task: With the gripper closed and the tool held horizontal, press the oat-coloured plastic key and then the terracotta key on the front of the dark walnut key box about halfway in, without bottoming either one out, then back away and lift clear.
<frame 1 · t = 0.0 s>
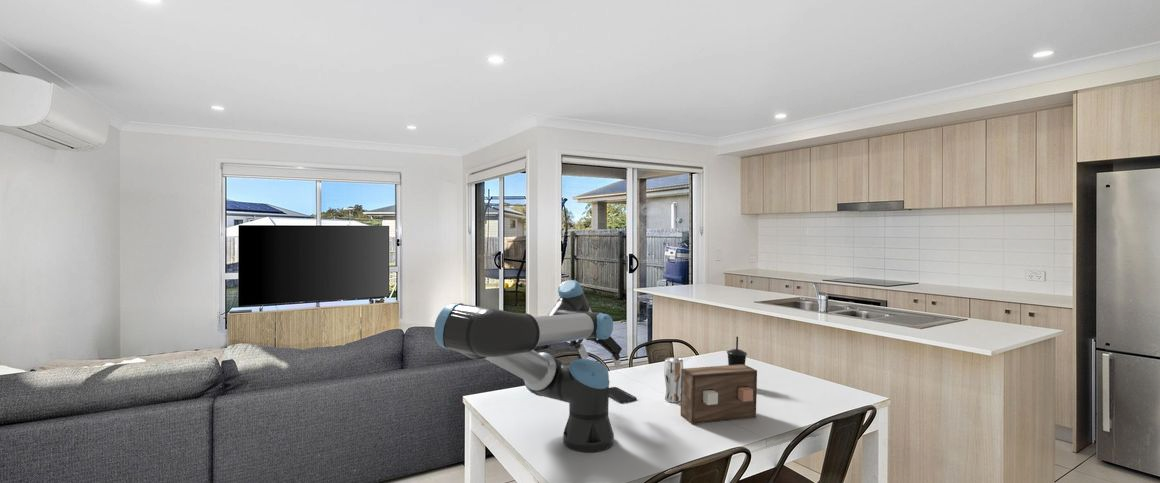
hand: (601, 361, 183), 15 cm above the table, tool tilted 35°, fingers open, 13 cm apart
key box: (718, 416, 173), on the table
phone: (617, 397, 193), on the table
terracotta key: (743, 392, 170), point 9 cm above the table, slide at 0.0 cm
oat key: (708, 396, 167), point 9 cm above the table, slide at 0.0 cm
beer glass: (673, 400, 189), on the table
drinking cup: (736, 386, 206), on the table
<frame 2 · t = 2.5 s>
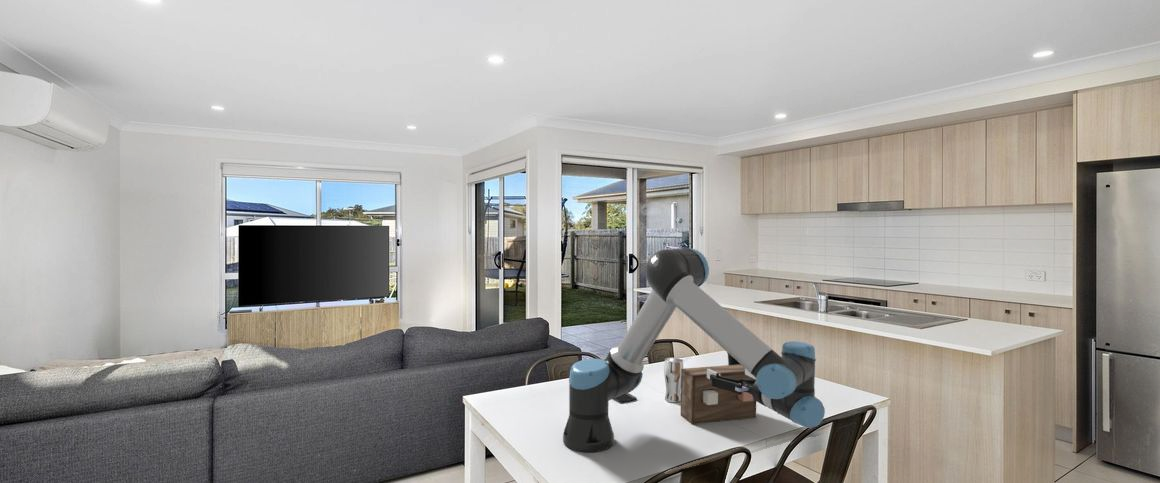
hand: (727, 371, 156), 20 cm above the table, tool horizontal, fingers open, 12 cm apart
nothing on the table moved.
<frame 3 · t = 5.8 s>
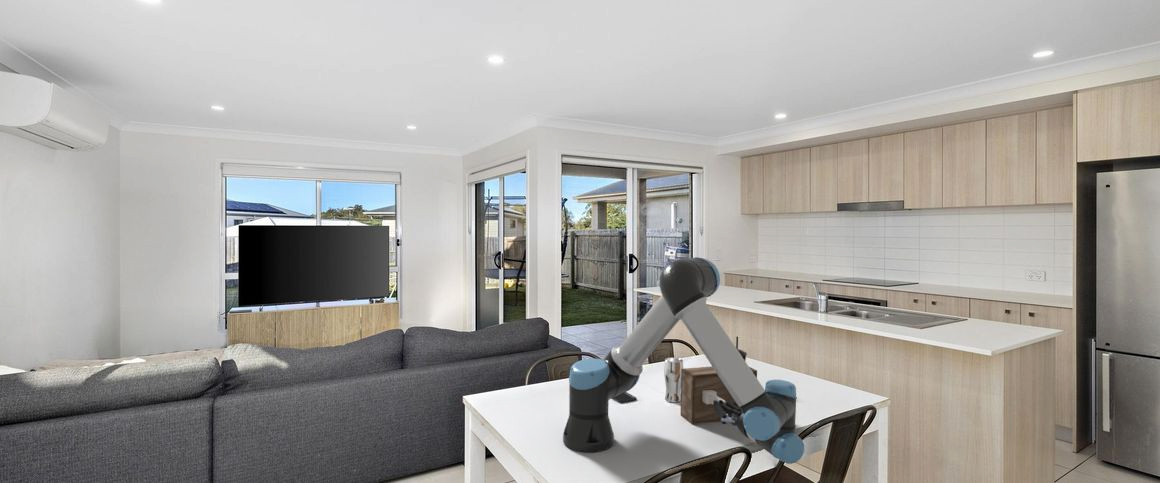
hand: (712, 398, 164), 9 cm above the table, tool horizontal, fingers closed
oat key: (707, 395, 167), point 9 cm above the table, slide at 0.8 cm, touching gripper
everything else where it was.
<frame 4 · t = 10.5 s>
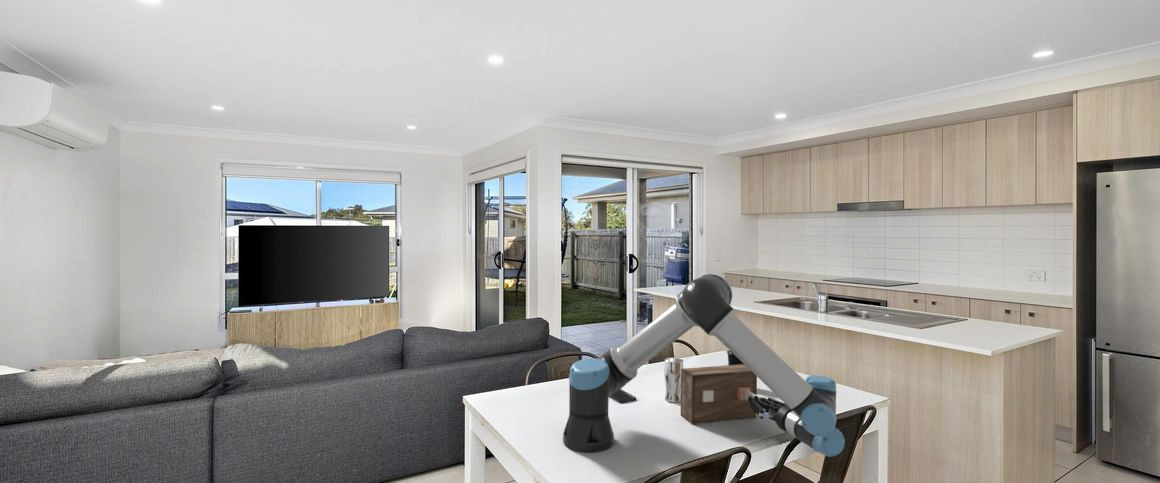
hand: (746, 394, 168), 9 cm above the table, tool horizontal, fingers closed
terracotta key: (740, 391, 171), point 9 cm above the table, slide at 1.4 cm, touching gripper
oat key: (704, 393, 169), point 9 cm above the table, slide at 2.6 cm
everything else where it was.
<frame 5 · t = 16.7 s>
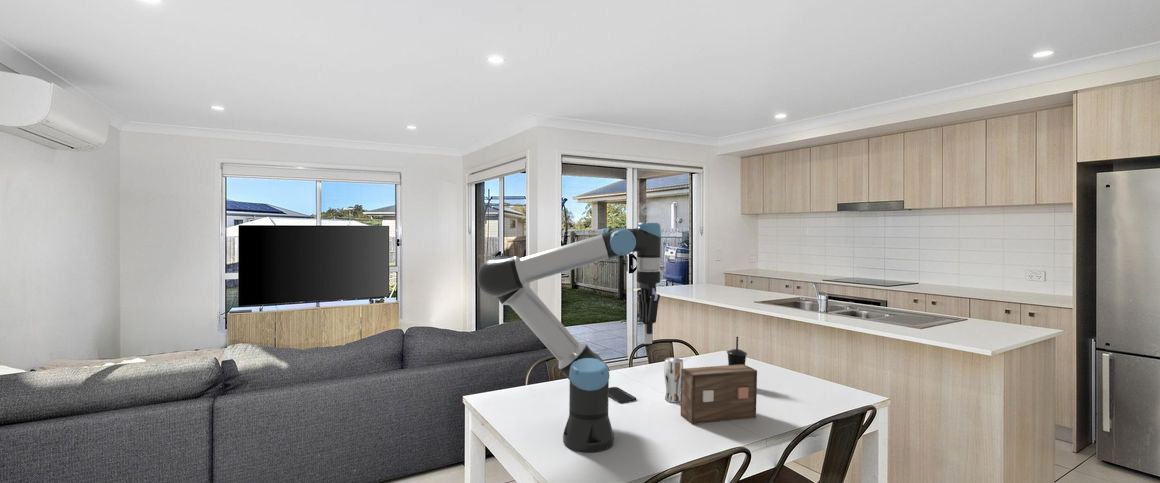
hand: (647, 343, 165), 26 cm above the table, tool pointing down, fingers closed
terracotta key: (738, 390, 173), point 9 cm above the table, slide at 2.6 cm
everything else where it was.
at the end: oat key slide at 2.6 cm; terracotta key slide at 2.6 cm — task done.
